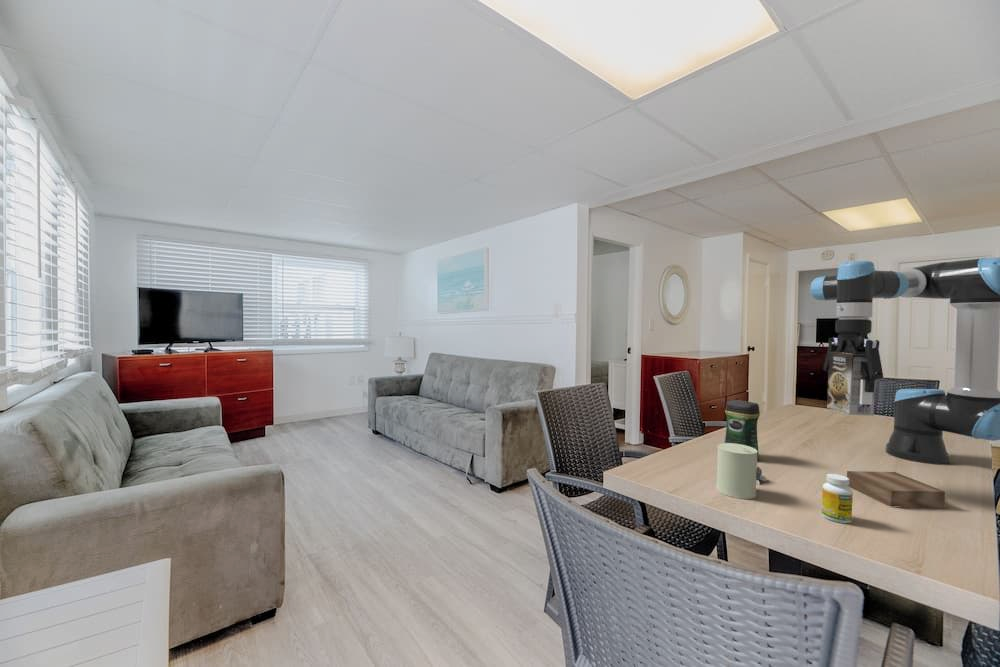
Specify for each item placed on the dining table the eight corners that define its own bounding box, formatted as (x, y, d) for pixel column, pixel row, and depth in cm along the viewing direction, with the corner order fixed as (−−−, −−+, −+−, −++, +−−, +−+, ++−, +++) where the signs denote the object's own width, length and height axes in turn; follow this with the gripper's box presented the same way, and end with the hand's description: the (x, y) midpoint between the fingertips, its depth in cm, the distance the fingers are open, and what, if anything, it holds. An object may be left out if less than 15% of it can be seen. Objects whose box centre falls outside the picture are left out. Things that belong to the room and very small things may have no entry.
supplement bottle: (833, 511, 98) (835, 471, 97) (857, 522, 92) (859, 480, 92) (815, 513, 96) (817, 473, 96) (838, 525, 91) (840, 482, 91)
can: (742, 501, 102) (743, 453, 102) (708, 488, 110) (709, 443, 110) (764, 495, 106) (765, 449, 106) (730, 482, 115) (731, 439, 114)
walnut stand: (893, 486, 114) (894, 471, 114) (944, 507, 101) (945, 491, 101) (846, 485, 114) (847, 471, 114) (890, 506, 101) (891, 490, 101)
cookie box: (825, 407, 119) (827, 351, 118) (849, 408, 118) (852, 352, 117) (848, 414, 110) (851, 354, 109) (875, 415, 109) (878, 354, 108)
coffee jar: (762, 458, 135) (764, 402, 135) (749, 462, 131) (751, 404, 131) (732, 450, 144) (734, 397, 143) (719, 454, 139) (721, 399, 139)
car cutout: (765, 490, 111) (765, 473, 111) (738, 482, 116) (739, 466, 116) (786, 478, 120) (787, 462, 120) (761, 471, 125) (761, 456, 125)
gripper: (809, 318, 124) (806, 393, 125) (875, 318, 102) (871, 408, 103) (835, 319, 124) (832, 393, 125) (906, 318, 102) (901, 409, 103)
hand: (849, 400), depth 114 cm, fingers closed on cookie box, 9 cm apart
